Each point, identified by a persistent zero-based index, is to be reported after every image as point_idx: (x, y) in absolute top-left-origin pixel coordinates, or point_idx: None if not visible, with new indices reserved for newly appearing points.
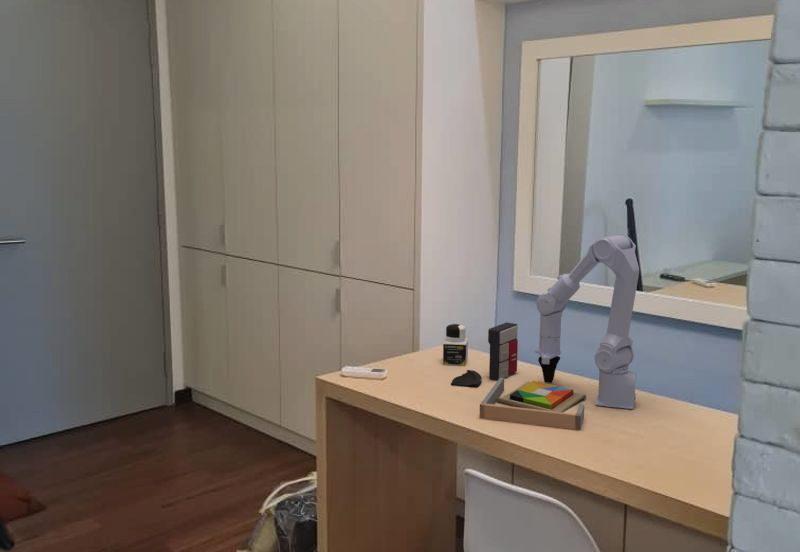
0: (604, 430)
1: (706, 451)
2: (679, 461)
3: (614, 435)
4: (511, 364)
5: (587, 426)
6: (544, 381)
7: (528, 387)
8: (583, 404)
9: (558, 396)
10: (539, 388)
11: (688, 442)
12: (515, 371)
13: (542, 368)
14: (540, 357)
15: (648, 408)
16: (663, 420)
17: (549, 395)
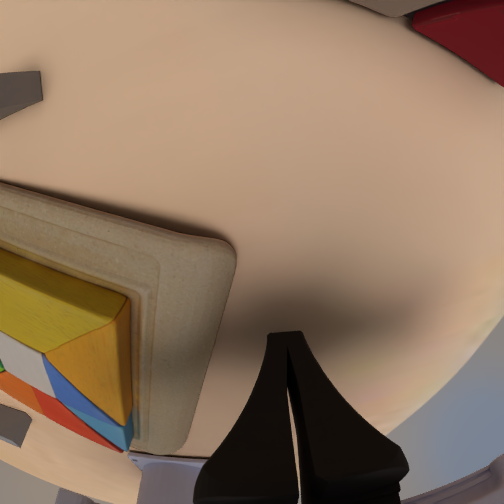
0: None
1: (74, 488)
2: (25, 464)
3: None
4: (492, 36)
5: None
6: (267, 338)
7: (12, 304)
8: (18, 446)
9: (38, 408)
10: (38, 357)
11: (83, 487)
12: (491, 76)
13: (237, 422)
14: (288, 500)
15: None
16: None
17: (21, 384)
